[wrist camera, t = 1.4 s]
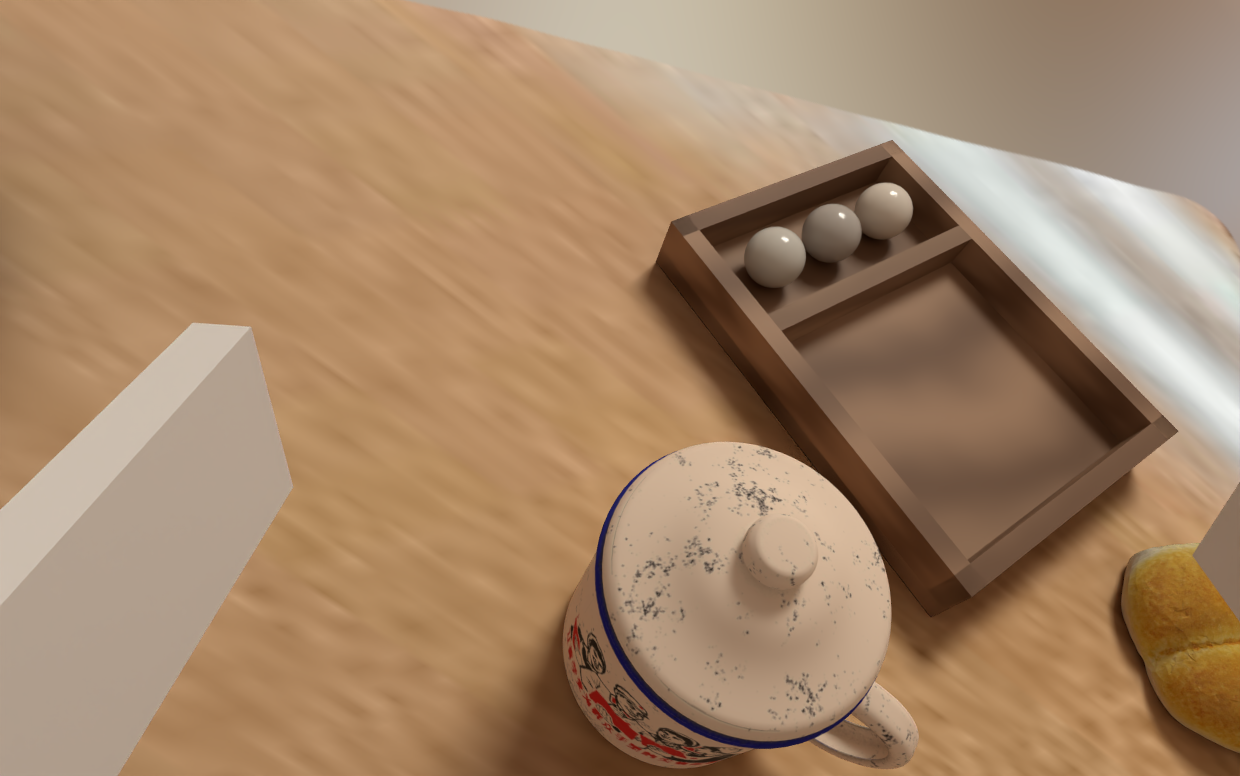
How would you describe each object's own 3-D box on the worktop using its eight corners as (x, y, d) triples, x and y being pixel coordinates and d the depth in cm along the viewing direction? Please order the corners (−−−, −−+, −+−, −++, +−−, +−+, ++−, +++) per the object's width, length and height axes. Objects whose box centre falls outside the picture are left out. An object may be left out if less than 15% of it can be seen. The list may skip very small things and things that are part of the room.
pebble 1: (724, 264, 40) (744, 224, 37) (767, 246, 41) (789, 206, 39) (759, 308, 39) (782, 269, 36) (802, 288, 40) (828, 250, 38)
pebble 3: (833, 219, 43) (859, 179, 41) (870, 203, 45) (897, 164, 42) (869, 258, 42) (897, 219, 40) (905, 241, 44) (935, 203, 41)
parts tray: (656, 261, 40) (671, 221, 38) (867, 178, 47) (892, 140, 45) (930, 617, 33) (972, 597, 31) (1131, 458, 40) (1178, 431, 38)
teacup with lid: (504, 669, 29) (545, 569, 19) (641, 493, 33) (730, 341, 24) (777, 891, 27) (977, 908, 17) (880, 671, 32) (1083, 586, 22)
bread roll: (1180, 774, 32) (1267, 764, 29) (1083, 563, 37) (1149, 533, 33) (1327, 743, 35) (1424, 730, 31) (1219, 547, 39) (1294, 517, 35)
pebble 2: (781, 240, 42) (804, 200, 39) (821, 224, 43) (845, 184, 40) (816, 282, 41) (842, 243, 38) (856, 263, 42) (883, 225, 39)
